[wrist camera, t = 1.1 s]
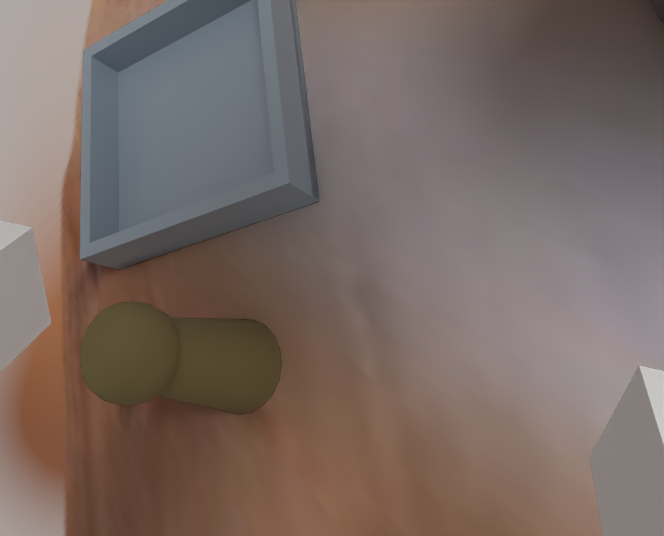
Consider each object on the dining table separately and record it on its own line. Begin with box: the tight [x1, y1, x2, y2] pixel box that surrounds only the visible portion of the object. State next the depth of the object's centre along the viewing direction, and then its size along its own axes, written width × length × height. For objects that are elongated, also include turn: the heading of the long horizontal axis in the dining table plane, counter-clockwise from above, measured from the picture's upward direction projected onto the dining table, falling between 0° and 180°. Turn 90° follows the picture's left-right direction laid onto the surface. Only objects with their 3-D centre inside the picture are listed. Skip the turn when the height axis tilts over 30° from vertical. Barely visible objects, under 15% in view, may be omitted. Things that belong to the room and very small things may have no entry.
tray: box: [80, 0, 319, 270], centre depth 43 cm, size 18×18×4 cm
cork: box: [80, 302, 282, 414], centre depth 33 cm, size 6×6×11 cm
